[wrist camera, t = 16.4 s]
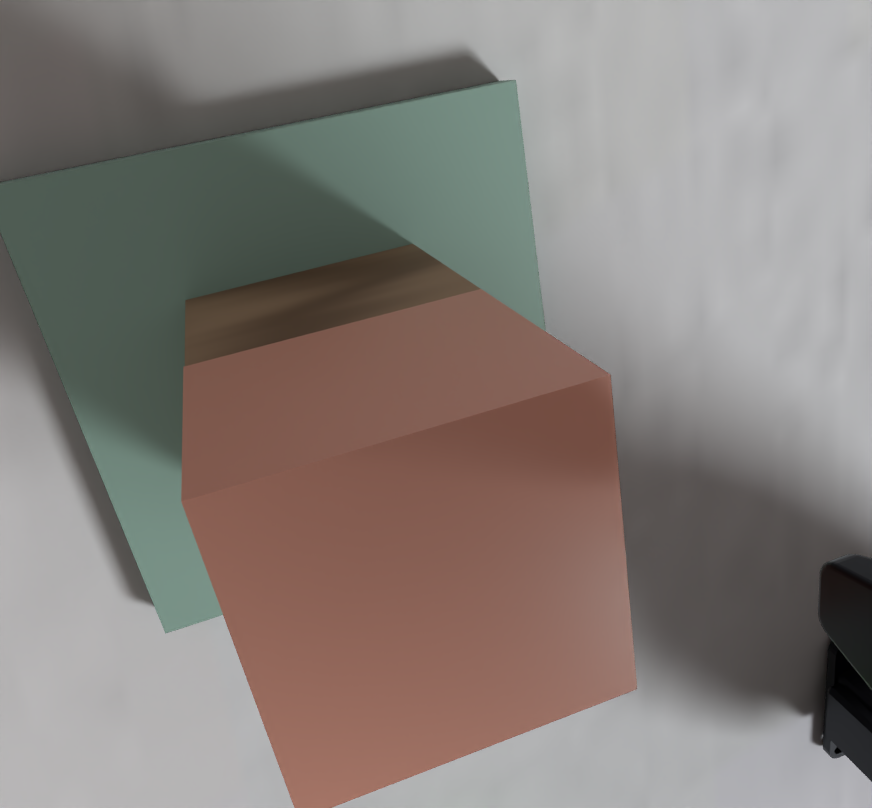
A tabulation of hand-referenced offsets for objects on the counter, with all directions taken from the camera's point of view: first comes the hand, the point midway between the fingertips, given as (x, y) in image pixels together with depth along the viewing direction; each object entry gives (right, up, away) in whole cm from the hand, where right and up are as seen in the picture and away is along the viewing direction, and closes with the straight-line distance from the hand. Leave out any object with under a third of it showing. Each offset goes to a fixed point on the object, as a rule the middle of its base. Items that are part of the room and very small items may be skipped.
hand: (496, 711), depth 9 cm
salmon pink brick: (-2, +2, +6) cm, 7 cm away
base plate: (-4, +5, +12) cm, 13 cm away
